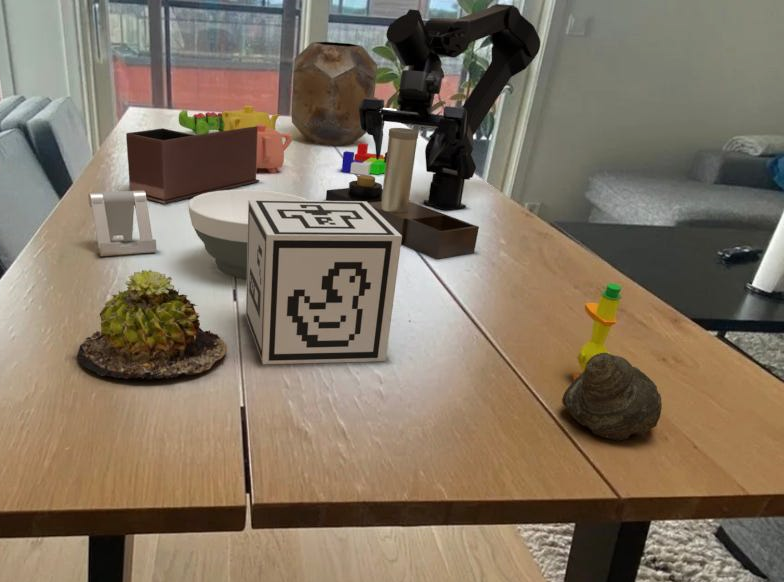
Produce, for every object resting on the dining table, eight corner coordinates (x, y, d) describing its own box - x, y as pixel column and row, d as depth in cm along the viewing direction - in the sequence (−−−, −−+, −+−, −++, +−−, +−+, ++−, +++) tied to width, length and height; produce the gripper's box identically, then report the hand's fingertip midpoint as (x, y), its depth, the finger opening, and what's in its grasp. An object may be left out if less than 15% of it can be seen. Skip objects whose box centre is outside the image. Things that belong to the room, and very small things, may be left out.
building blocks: (394, 179, 178) (396, 159, 176) (341, 171, 181) (342, 152, 179) (407, 167, 190) (410, 149, 188) (358, 161, 193) (359, 142, 191)
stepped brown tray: (400, 223, 146) (403, 198, 144) (474, 253, 133) (479, 226, 130) (361, 228, 141) (363, 203, 139) (434, 259, 128) (438, 232, 126)
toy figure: (557, 368, 94) (582, 272, 87) (584, 368, 94) (612, 273, 88) (580, 393, 88) (610, 293, 82) (609, 393, 89) (641, 293, 82)
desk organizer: (125, 194, 151) (121, 132, 145) (222, 173, 172) (223, 119, 166) (164, 204, 146) (162, 141, 140) (259, 182, 167) (261, 126, 161)
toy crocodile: (243, 131, 219) (243, 108, 216) (251, 135, 214) (251, 111, 211) (175, 131, 212) (175, 107, 208) (182, 136, 207) (182, 111, 203)
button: (366, 183, 157) (367, 174, 156) (378, 187, 154) (379, 178, 153) (353, 184, 155) (353, 175, 154) (363, 188, 152) (364, 179, 151)
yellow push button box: (371, 196, 163) (373, 176, 161) (401, 207, 156) (404, 187, 154) (325, 201, 157) (327, 180, 155) (355, 213, 150) (357, 192, 148)
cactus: (91, 394, 81) (83, 306, 75) (66, 336, 93) (57, 256, 87) (245, 374, 87) (247, 291, 82) (203, 322, 99) (203, 247, 94)
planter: (317, 130, 228) (323, 38, 214) (387, 144, 216) (398, 48, 203) (271, 138, 212) (275, 40, 199) (344, 153, 201) (353, 50, 188)
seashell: (534, 348, 83) (567, 389, 74) (638, 294, 80) (684, 330, 72) (567, 427, 89) (601, 473, 80) (665, 379, 86) (712, 421, 78)
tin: (395, 204, 139) (405, 127, 132) (413, 211, 136) (424, 132, 129) (374, 207, 137) (383, 128, 130) (392, 214, 134) (402, 133, 126)
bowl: (218, 297, 107) (218, 228, 102) (171, 255, 121) (169, 192, 116) (339, 283, 115) (345, 218, 110) (282, 245, 129) (285, 186, 124)
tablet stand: (102, 258, 118) (97, 202, 113) (90, 243, 124) (86, 189, 119) (156, 254, 121) (154, 199, 117) (143, 239, 127) (140, 187, 122)
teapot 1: (273, 146, 203) (274, 103, 197) (279, 156, 193) (281, 111, 187) (221, 144, 201) (221, 101, 195) (225, 154, 190) (225, 108, 185)
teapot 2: (251, 162, 185) (251, 118, 179) (293, 170, 180) (295, 125, 175) (223, 169, 176) (223, 123, 171) (267, 177, 171) (269, 130, 166)
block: (262, 364, 90) (267, 235, 81) (245, 316, 102) (248, 199, 94) (385, 361, 93) (402, 236, 84) (354, 314, 105) (366, 201, 97)
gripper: (366, 45, 131) (347, 124, 129) (476, 55, 128) (458, 137, 125) (370, 91, 142) (352, 165, 139) (471, 101, 139) (455, 177, 136)
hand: (402, 161), depth 135 cm, fingers open, 9 cm apart
